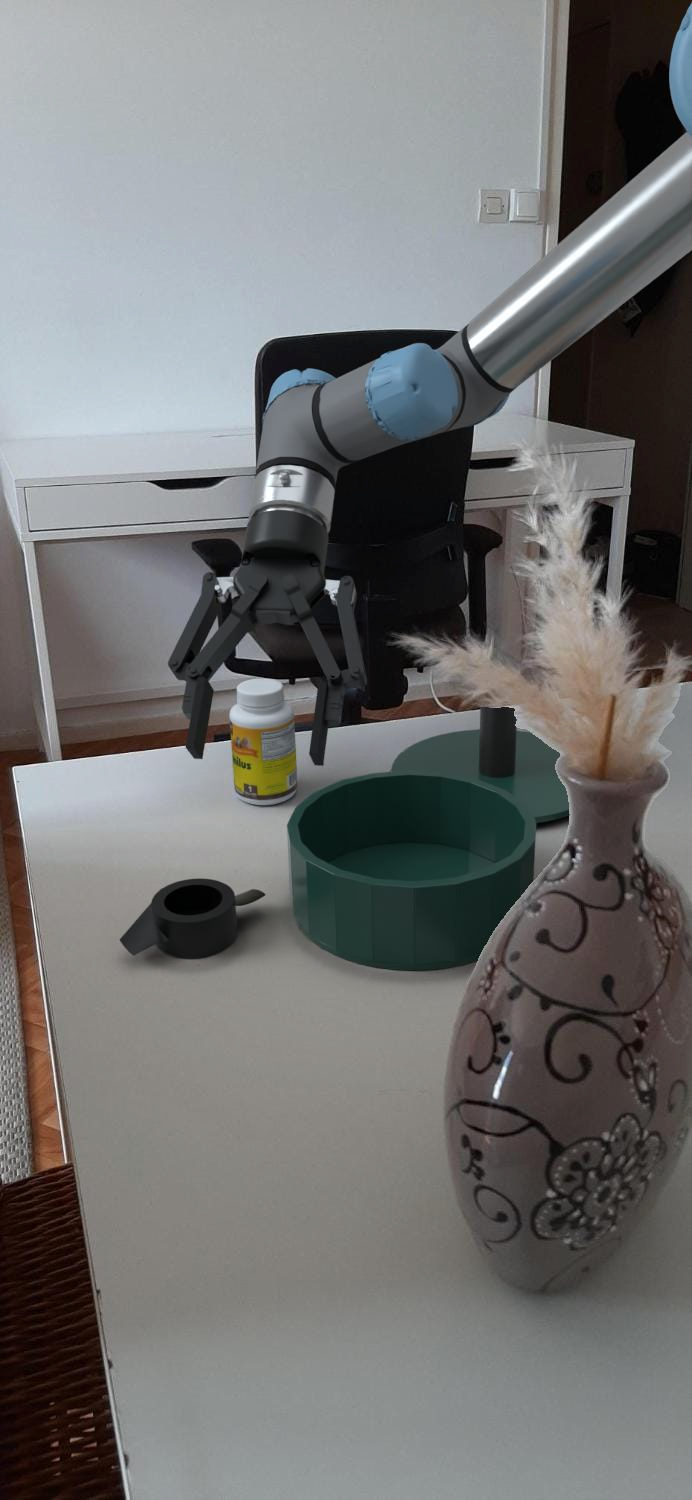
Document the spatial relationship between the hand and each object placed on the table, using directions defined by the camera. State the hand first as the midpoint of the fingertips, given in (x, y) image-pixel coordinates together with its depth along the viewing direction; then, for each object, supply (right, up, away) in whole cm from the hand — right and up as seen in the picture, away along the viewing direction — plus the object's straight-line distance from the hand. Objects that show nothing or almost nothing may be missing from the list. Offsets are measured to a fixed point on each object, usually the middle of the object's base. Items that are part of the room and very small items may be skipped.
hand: (254, 756), depth 97 cm
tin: (+12, -11, -12) cm, 20 cm away
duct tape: (-3, -13, -16) cm, 20 cm away
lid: (+21, -2, +5) cm, 22 cm away
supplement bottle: (+1, -3, +5) cm, 6 cm away
